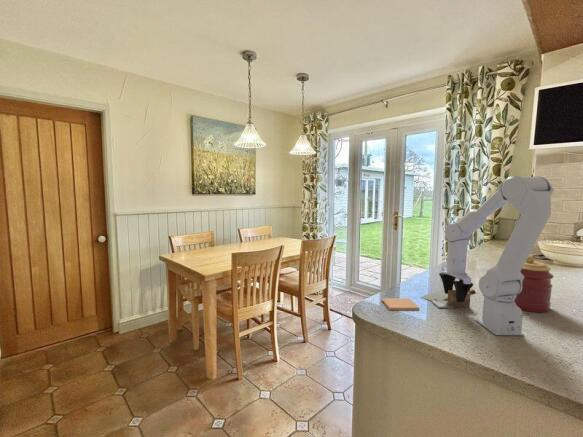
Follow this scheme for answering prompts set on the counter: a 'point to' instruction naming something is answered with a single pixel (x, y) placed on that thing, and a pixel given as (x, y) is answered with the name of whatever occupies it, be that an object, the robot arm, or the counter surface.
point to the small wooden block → (453, 301)
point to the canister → (535, 287)
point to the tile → (400, 304)
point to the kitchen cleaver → (440, 296)
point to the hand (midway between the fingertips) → (453, 297)
